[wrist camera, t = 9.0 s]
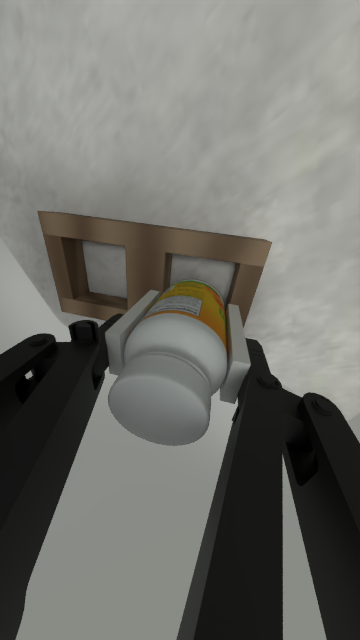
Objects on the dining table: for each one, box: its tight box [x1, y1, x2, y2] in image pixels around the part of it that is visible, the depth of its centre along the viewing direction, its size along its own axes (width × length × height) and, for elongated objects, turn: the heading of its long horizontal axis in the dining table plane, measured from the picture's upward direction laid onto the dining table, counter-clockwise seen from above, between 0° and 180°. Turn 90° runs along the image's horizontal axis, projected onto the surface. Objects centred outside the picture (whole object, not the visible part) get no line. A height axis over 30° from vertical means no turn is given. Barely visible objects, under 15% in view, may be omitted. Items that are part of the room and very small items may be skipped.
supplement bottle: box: [108, 279, 228, 446], centre depth 11 cm, size 5×5×10 cm
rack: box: [38, 211, 272, 328], centre depth 20 cm, size 22×11×3 cm, turn 83°
